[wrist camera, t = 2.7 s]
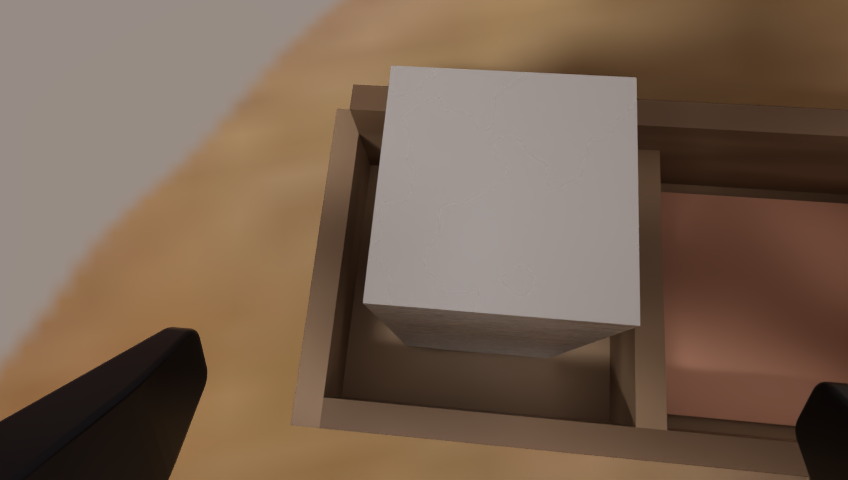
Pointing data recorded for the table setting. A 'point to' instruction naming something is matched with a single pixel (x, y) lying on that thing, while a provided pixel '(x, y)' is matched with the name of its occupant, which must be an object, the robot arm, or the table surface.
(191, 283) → the table surface
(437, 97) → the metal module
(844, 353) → the divided wooden tray
